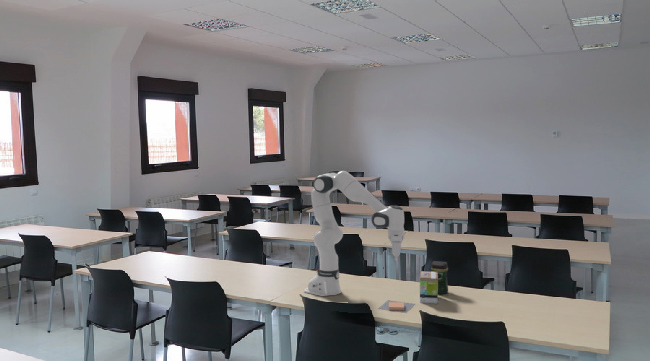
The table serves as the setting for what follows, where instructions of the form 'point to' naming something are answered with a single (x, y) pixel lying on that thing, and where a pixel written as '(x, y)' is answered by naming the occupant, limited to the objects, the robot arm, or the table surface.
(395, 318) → the table surface
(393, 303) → the tile
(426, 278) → the tea box
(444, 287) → the coffee jar
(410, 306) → the mat
